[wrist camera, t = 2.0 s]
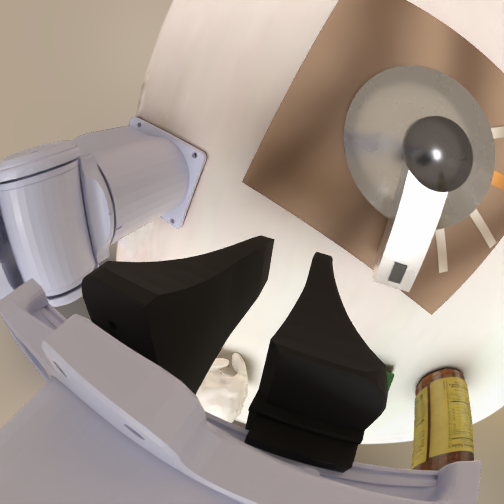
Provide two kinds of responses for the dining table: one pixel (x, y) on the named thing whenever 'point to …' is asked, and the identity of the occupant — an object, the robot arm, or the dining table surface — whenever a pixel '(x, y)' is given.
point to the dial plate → (332, 137)
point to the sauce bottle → (442, 421)
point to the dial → (417, 161)
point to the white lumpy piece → (224, 389)
